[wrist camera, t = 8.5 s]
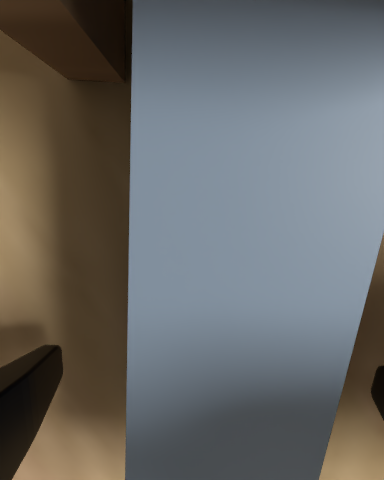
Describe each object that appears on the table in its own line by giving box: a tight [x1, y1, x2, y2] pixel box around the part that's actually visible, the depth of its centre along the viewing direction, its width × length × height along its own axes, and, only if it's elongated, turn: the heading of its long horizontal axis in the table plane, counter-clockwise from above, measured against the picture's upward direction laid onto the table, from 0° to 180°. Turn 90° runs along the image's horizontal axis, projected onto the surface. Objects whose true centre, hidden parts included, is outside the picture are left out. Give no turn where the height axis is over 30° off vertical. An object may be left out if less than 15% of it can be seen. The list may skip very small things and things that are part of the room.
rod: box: [125, 0, 384, 480], centre depth 6 cm, size 16×4×4 cm, turn 176°
